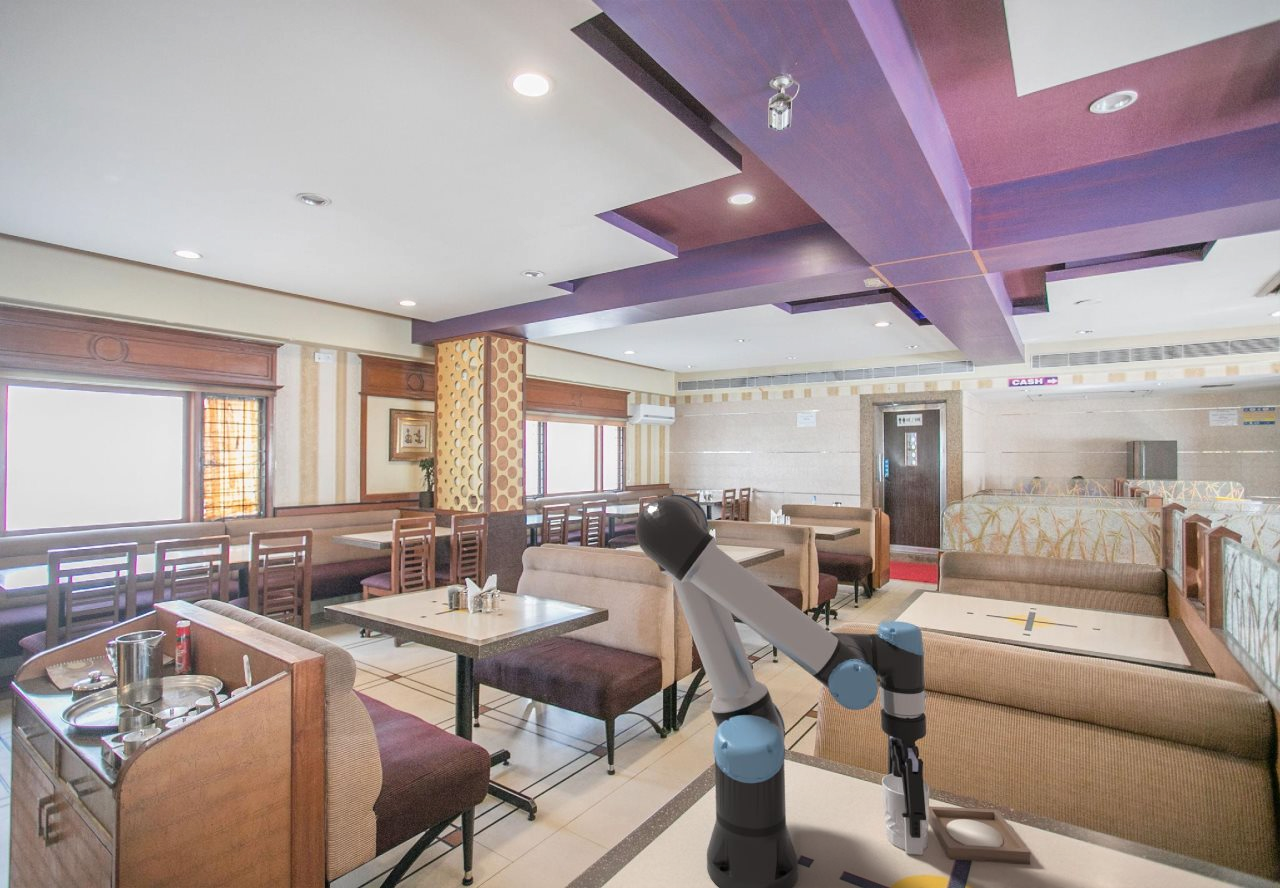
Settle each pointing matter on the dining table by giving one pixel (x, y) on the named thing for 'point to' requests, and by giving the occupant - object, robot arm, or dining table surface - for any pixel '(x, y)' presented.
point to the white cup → (900, 810)
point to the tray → (977, 835)
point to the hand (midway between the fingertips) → (907, 838)
